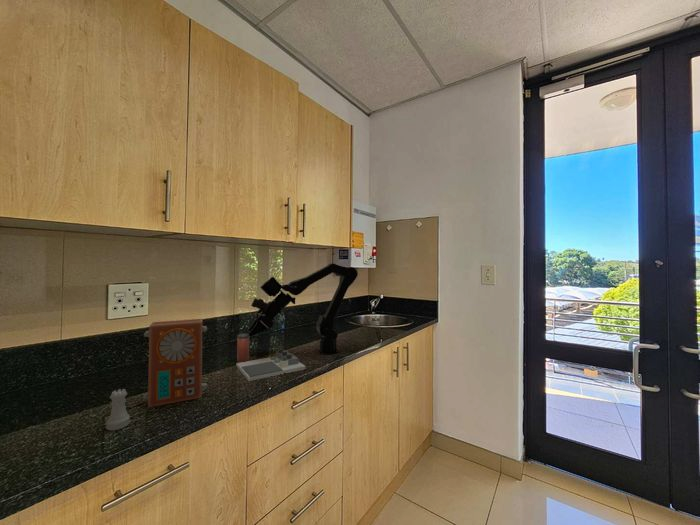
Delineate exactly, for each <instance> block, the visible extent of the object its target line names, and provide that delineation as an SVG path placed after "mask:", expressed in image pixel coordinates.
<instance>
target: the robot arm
mask: <svg viewBox="0 0 700 525" xmlns="http://www.w3.org/2000/svg"><path fill="white" fill-rule="evenodd" d="M332 274H336V275H338V276H339V280H338V281H339V282H338V285H337V288H336V289H335V292H334V294H333V296H332V299H331V301H330V303H329V305H328V307H327V309H326V312H325V313H324V314H323V315H321V314H319V316H318V320H316V322H315V324H316V326H315V327H316V331H317V332H318V333H319V334H320V336H321V337H320V341H319V350H318V352H319V353H322V354H325V355H329V354H335V353H338V352H339V350H337V339H338V335H339V334H338V333H337V332H336V331H335V330H334V325H335V319H336V318H335V317H336V315H337V313H338V311H339V309H340V306H341V304H342V302H343V300H344V298H345V295H346V293H347V291H348V289H349V288H350V286H351V285H353V283H354V282H355V280H356V278H357V277H358V275H359V274H358V271H357V269H356V268H354V267H353V266H352V267H351V266H347V267H345V266H342V265H339V264H336V263H333V262H331V263H328V264H327V265H326V266H324V267H322V268H320V269H318V270H316V271H314V272H312V273H311V274H308V275H307V276H305V277H302V278H301V277H300V278H298V279H295V280H292V281H290V282H289V283H288V284H287V283H286V284H281V283H280V282H279V281H278V280H277V279H276V278H275V277H274V276H271V277H270V278H269V279H268V280H266V281H265V282H264V283H263V284H262V285H261V286H260V289H261V290H262V291H263V292H264V293H265V294H266V295H267V296H268V297H269V298H271V297H273V299H272V300H271V301H268V302H266V301H264V299H262V298H256V297H254V299H253V301H252V303H251V307H253V308H256V309H258V310H257V311H256V313H255V315H256V316H255V317H256V318H255V319H254V321H253V322H252V324H251V326H250V327H249V328H248V331H249V333H248V334H249V338H250V337H252V336H254V335H257V334H260V333H261V332H265V331H267V330H269V329H271V328H273V326H274V321H275V318H276V317H277V316H278V315H280V314H282V311H284V309H285V308H287V306H288V305H289V304H290V303H292V304H293V305H296V297H292V296H291V295H293V296H300V294H302V293H303V292H304V291H305V290H306V289H308V288H309V287H310V286H312V285H313V284H315V283H316V282H318V281H321V279H324V278H325V277H328V276H329V275H332ZM281 289H282V290H281ZM285 292H287V293H285Z"/></svg>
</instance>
